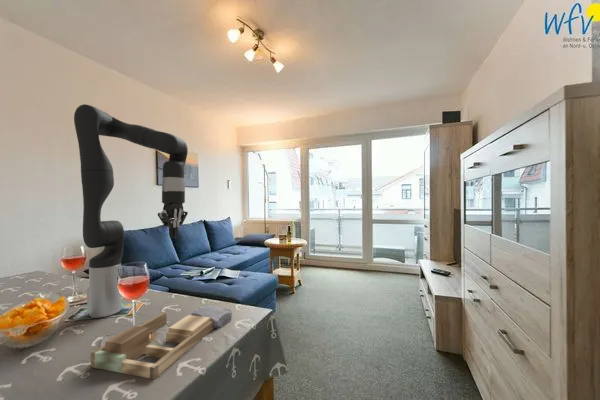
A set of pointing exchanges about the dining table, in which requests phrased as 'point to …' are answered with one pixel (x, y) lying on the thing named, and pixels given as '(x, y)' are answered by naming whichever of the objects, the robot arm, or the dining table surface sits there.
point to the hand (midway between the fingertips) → (173, 237)
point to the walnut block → (129, 342)
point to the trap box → (156, 347)
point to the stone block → (214, 314)
